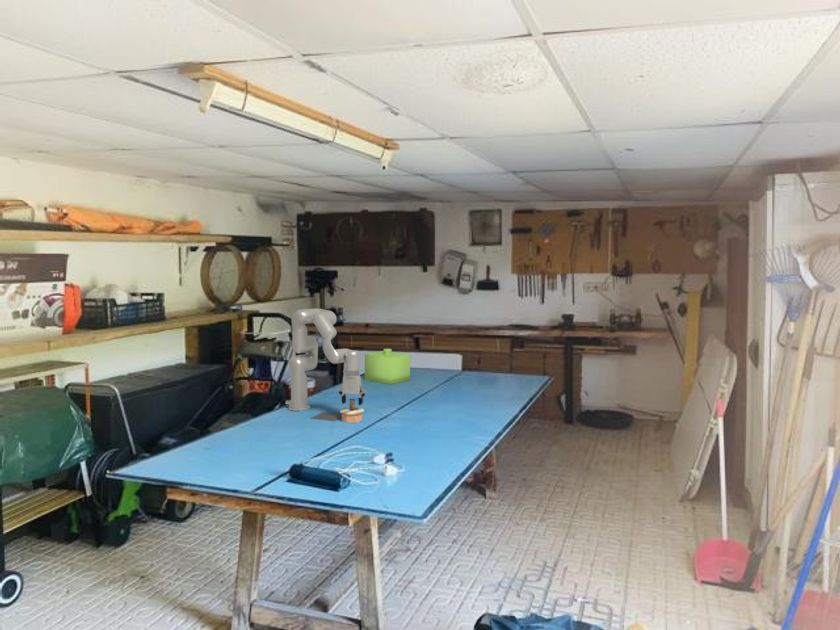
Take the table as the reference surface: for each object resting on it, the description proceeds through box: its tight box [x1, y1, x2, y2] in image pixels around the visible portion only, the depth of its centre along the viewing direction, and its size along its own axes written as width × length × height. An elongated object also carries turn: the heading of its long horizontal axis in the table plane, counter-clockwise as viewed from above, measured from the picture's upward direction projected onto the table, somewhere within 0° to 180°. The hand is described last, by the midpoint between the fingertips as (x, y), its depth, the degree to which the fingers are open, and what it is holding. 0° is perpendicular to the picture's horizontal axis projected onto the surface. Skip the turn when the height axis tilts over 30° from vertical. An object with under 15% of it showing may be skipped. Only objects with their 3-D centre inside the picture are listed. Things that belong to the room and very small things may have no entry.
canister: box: [364, 348, 411, 386], centre depth 474 cm, size 25×21×23 cm
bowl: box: [341, 413, 363, 424], centre depth 359 cm, size 11×11×5 cm
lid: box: [339, 398, 365, 415], centre depth 359 cm, size 13×13×7 cm
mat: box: [309, 412, 342, 422], centre depth 366 cm, size 15×15×1 cm
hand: (352, 403), depth 359 cm, fingers open, 9 cm apart
